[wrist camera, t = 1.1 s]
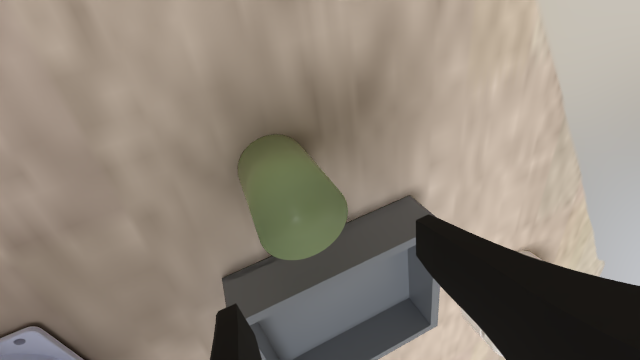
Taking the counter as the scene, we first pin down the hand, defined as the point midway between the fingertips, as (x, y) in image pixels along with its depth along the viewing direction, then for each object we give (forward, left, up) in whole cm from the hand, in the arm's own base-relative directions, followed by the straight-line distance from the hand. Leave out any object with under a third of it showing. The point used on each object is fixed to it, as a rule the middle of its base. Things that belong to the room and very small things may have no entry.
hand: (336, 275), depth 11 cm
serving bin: (+2, -14, -9) cm, 17 cm away
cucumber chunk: (0, 0, -9) cm, 9 cm away
